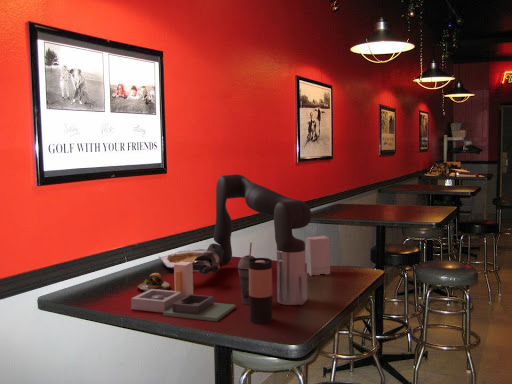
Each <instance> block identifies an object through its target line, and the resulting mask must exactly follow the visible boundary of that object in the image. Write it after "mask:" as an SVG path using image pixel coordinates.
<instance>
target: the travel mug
mask: <svg viewBox="0 0 512 384" xmlns="http://www.w3.org/2000/svg"><path fill="white" fill-rule="evenodd" d="M272 262H273V260H272V259H271V258H269V257H255V258H253V259H250V260H249V304H248V306H249V320H250V322H251V323H253V324H258V325H262V324H263V325H264V324H265V325H266V324H269V323H271V322H272V321H273V265H272V264H273V263H272Z"/></svg>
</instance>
